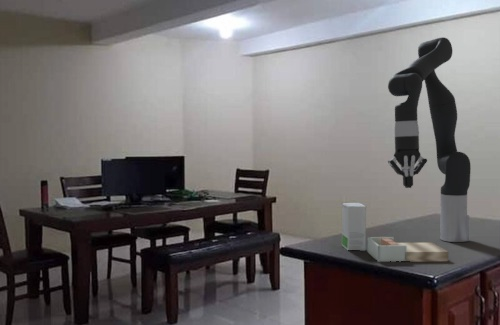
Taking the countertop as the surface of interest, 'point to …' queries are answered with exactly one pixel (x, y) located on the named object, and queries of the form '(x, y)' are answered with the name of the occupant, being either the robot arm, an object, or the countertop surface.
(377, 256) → the box
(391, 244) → the tile
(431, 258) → the board
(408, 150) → the robot arm
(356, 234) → the skincare box
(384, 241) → the tile
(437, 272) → the countertop surface
